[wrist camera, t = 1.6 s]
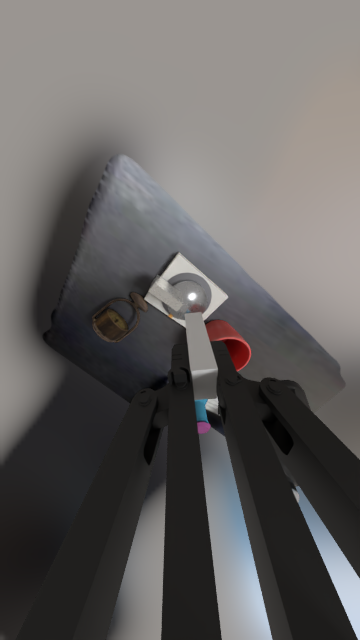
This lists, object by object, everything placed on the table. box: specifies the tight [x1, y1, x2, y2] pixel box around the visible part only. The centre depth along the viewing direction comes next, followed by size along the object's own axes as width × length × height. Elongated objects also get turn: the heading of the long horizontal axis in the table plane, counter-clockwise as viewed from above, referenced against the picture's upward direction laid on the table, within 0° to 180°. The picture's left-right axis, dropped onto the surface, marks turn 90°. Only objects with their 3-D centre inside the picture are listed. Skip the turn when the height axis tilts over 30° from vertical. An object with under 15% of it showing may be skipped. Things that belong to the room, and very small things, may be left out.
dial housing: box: [144, 252, 228, 328], centre depth 35 cm, size 14×12×2 cm
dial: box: [148, 275, 208, 320], centre depth 31 cm, size 12×8×7 cm
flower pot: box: [205, 320, 251, 371], centre depth 38 cm, size 11×11×10 cm
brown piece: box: [92, 292, 148, 343], centre depth 36 cm, size 7×13×10 cm
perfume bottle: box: [195, 399, 211, 434], centre depth 45 cm, size 9×9×15 cm
